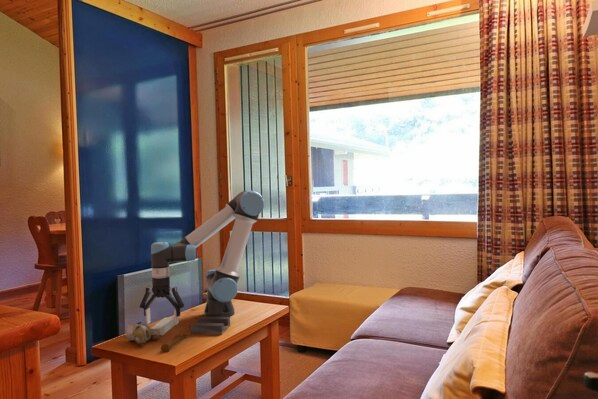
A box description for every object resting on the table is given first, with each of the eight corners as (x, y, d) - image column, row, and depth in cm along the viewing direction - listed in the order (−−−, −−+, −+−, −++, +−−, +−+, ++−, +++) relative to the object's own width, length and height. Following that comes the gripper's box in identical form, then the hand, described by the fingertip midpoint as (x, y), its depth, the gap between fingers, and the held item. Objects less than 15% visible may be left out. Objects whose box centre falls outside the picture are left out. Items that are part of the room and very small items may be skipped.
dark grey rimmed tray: (201, 325, 191) (200, 316, 191) (230, 325, 189) (229, 317, 189) (191, 334, 179) (190, 325, 179) (221, 334, 177) (221, 325, 177)
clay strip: (165, 325, 194) (165, 317, 193) (174, 325, 193) (174, 317, 193) (150, 337, 178) (149, 328, 178) (160, 337, 177) (160, 328, 177)
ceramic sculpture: (138, 315, 180) (163, 321, 173) (138, 334, 181) (163, 341, 174) (117, 323, 171) (143, 329, 164) (118, 343, 171) (143, 350, 164)
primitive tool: (176, 336, 179) (176, 328, 179) (189, 336, 179) (188, 328, 179) (160, 353, 160) (159, 344, 160) (173, 353, 159) (173, 344, 159)
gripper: (130, 278, 183) (132, 325, 183) (183, 278, 179) (185, 326, 180) (139, 274, 190) (141, 320, 191) (190, 274, 187) (192, 321, 187)
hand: (162, 323), depth 185 cm, fingers open, 13 cm apart
